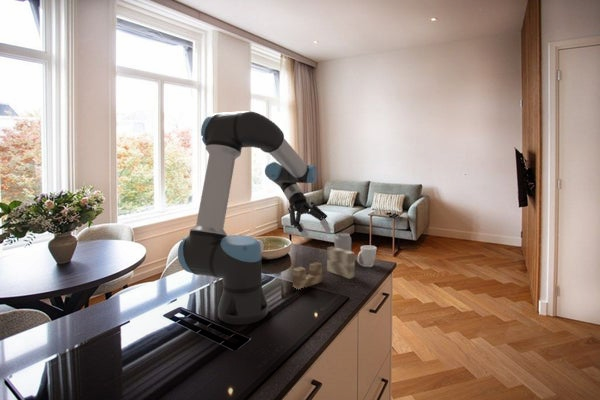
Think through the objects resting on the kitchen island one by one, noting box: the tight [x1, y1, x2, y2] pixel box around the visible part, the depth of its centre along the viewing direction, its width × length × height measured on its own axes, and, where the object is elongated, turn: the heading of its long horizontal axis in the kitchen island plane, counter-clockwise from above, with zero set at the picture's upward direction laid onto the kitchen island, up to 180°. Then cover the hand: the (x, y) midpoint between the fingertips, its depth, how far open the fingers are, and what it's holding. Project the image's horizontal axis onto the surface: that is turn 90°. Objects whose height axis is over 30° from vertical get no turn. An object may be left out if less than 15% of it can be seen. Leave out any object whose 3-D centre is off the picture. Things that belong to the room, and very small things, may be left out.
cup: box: [356, 244, 378, 268], centre depth 145 cm, size 7×10×8 cm
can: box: [334, 232, 352, 252], centre depth 153 cm, size 8×8×12 cm
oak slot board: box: [292, 261, 323, 291], centre depth 125 cm, size 12×3×7 cm, turn 131°
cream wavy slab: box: [326, 245, 356, 280], centre depth 135 cm, size 12×3×10 cm, turn 41°
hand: (318, 234), depth 144 cm, fingers open, 13 cm apart
